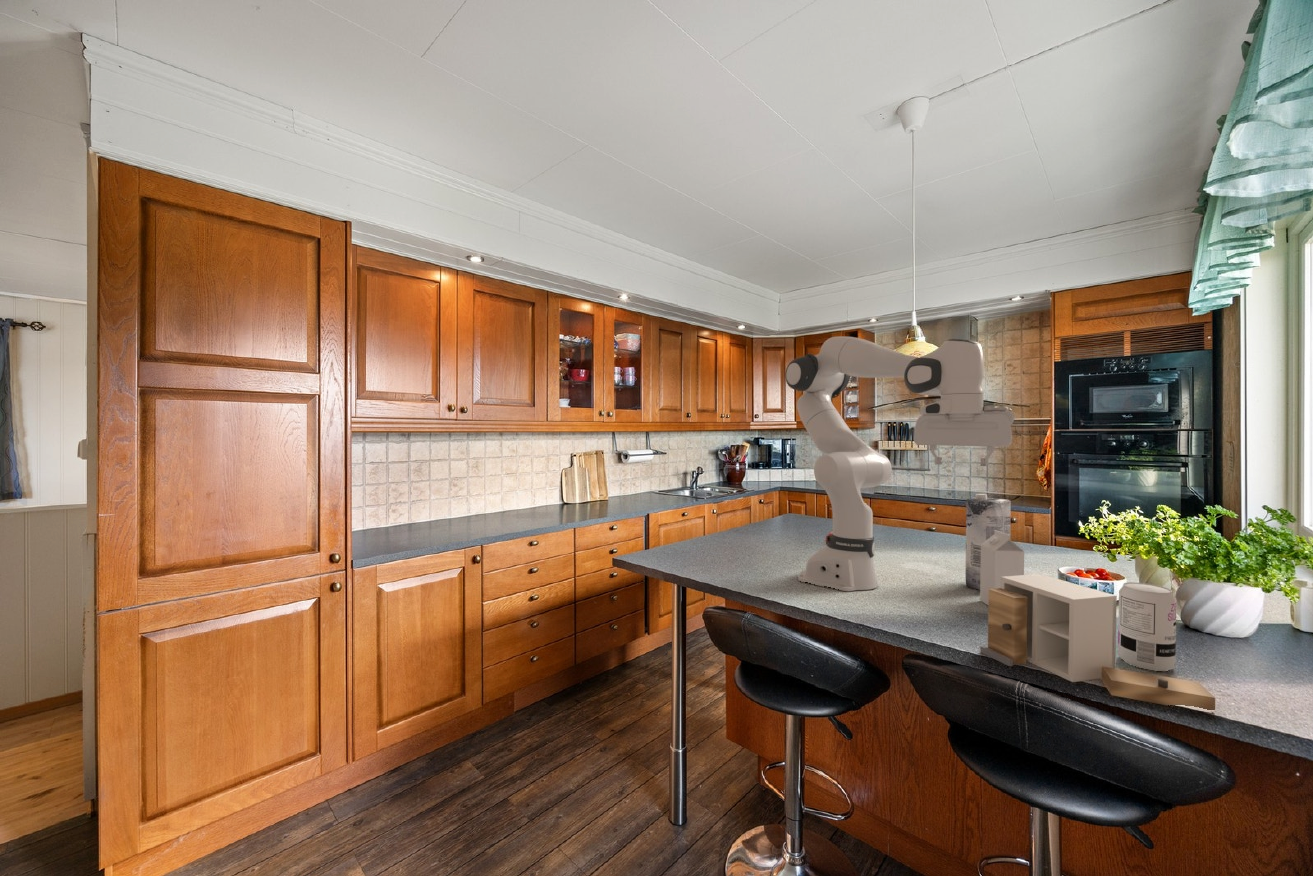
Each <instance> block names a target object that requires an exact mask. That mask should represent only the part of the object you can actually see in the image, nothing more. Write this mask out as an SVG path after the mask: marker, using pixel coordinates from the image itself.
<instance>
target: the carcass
mask: <svg viewBox="0 0 1313 876" xmlns="http://www.w3.org/2000/svg"><path fill="white" fill-rule="evenodd" d="M1001 588H1002V589H1005V590H1008V591H1011V592H1014V593H1017V594H1020V595H1023V596H1026V597H1027V651H1026V662H1028V663H1031V664H1033V665H1035V666H1037V667H1038V668H1041V669H1044V670H1045V671H1047V672H1050V673H1051V674H1054V675H1056V676H1059V677H1060V678H1063V679H1065V680H1067V681H1069V682H1071V683H1077V682H1084V681H1085V682H1086V681H1091V680H1092V679H1093V680H1098V679H1099V678H1100V679H1102V667H1108V668H1115V669H1116V660H1117V659H1116V658H1117V657H1116V656H1117V655H1116V652H1117V651H1116V649H1117V645H1116V644H1117V600H1118V595H1116V594H1112V593H1110V592H1109V593H1108V592H1105V591H1102V590H1097V589H1094V588H1091V587H1087V586H1084V585H1080V584H1076V583H1073V582H1071V581H1066V580H1063V579H1060V578H1055V577H1052V576H1050V575H1049V576H1048V575H1045V574H1042V573H1032V574H1024V575H1018V576H1004V577H1001ZM979 652H980V653H981V654H984V655H985V656H988V657H990V658H991V659H994V660H995V661H998V662H1000V663H1001V664H1004V665H1005V666H1008V667H1014V665H1013V660H1012V659H1010V658H1008V657H1006V656H1004V655H1002V654H1000V653H998V652H995V651H993V650H991V649H989V648H988V646H984V645H980V651H979ZM1093 680H1092V681H1093Z"/></svg>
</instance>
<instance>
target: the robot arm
mask: <svg viewBox="0 0 1313 876" xmlns="http://www.w3.org/2000/svg"><path fill="white" fill-rule="evenodd" d="M981 345H982V344H980V343H979V342H978V341H976V340H973V339H961V338H951V339H946V340H945V341H944V342H942V344H941V345H940V346H939V347H938V348H936V349H935V350H932V351H931V352H929V353H926V354H924V355H922V356H920V357H918V356H912V355H910V354H909V355H908V354H905V353H902V352H899V351H896V350H895V349H891V348H889V347H885V346H884V345H881V344H878V343H875V342H872V341H870V340H867V339H864V338H860V337H854V336H846V335H845V336H843V335H842V336H841V335H840V336H832V337H830V338H827V340H825V341H824V342H823V344H822V345H821V348H820V350H819V353H817V354H816V355H815V354H813V353H807V354H805V355H803V356H800V357H797V358H794V359H792V360H790V362H789V363H788V365H787V367H786V369H785V375H784V377H785V382H786V384H787V386H788V387H789V388H790V389H793V390H795V391H798V392H803V394H801V396H800V397H798V399H797V401H796V409H797V412H798V415H799V416H798V417H799V419H800V421H801V423H802V424H803V426H804V428H805V429H806V432H807V433H808V434H809V436H810V438H811V440H812V442H813V443H814V445H815V446H816V448H817V449H818V450H819V451H820V452H822V453H824V454H823V455H820V456H819V457H818V458H817V460H816V461H815V463H814V465H813V475H814V478H815V480H816V482H817V484H818V485H819V486H821V488H823V489H824V491H825V492H826V494H827V497H828V499H829V501H830V504H831V510H832V531H831V532H829V533H828V534H826V536H825V541H824V542H825V546H824V547H822V548H821V549H819V550H818V551H816V552H815V553H813V554H812V555H811V556H810V557H809V558H808V559H807V562H806V565H805V569H804V570H802V571H800V572H799V573H798V575H797V581H799V582H800V581H801V583H805V582H808V583H807V584H809V583H811V585H814V584H815V585H816V586H820V587H824V586H827V587H826V588H828V587H831V588H830V589H833V588H835V589H834V590H838V589H839V590H838V591H843V592H852V591H866V590H867V591H868V590H872V589H876V588H878V587H879V584H878V580H877V576H876V570H875V563H874V556H875V548H876V547H875V544H876V543H875V537H874V536H873V533H874V532H873V529H874V527H873V525H874V523H873V522H874V519H873V518H874V517H873V516H874V513H873V510H872V508H871V506H869V505H868V504H867V503H865V501H864V500H863V497H862V491H861V489H870V488H875V487H879V486H881V485H883V484H885V483H887V482H888V481H889V480H890V478H891V475H892V472H893V471H892V470H893V469H892V464H891V461H890V459H889V458H888V457H887V456H886V455H885V454H883V453H881V452H879V451H876V450H875V449H874V448H871V446H869V445H868V444H867V443H865V441H863V440H862V439H861V438H860V437H858V436H857V434H855V433H854V432H853V431H852V429H851V428H850V427H849V426H848V424H847V423H846V421H845V420H844V419H843V417H842V415H841V414H840V413H839V411H838V410H837V408H836V407H835V406H834V404H833V402H832V399H835V398H837V397H839V396H840V394H841V392H843V391H844V390H845V388H846V387H847V386H848V384H849V383H850V379H851V377H855V378H862V379H863V378H864V379H865V378H867V379H872V378H876V379H877V378H899V379H901V378H902V379H903V380H904V384H905V386H906V388H907V389H908V390H909V392H911V393H914V394H915V395H921V396H923V395H924V396H940V400H937V401H932V402H929V403H928V404H924V405H922V406H920V408H919V412H920V414H921V415H920V416H919V417H918V418H917V420H916V422H915V426H914V433H913V441H914V444H916V445H917V446H929V451H930V453H931V454H932V456H933V458H934V465H943V457H942V456H939V455H938V454H937V452H936V450H938V446H952V447H953V446H955V447H956V446H957V447H958V446H959V447H960V446H961V447H962V446H963V447H986V448H985V449H986V452H988V453H987V454H986V455H985V456H984V457H980V465H979V466H981V467H988V466H989V459H990V457H991V456H992V454H993V453H994V451H995V450H994V449H995V448H994V447H1007V448H1008V447H1010V446H1011V445H1012V444H1013V434H1012V433H1013V432H1012V427H1011V426H1012V425H1013V424H1014V422H1015V412H1014V411H1013V410H1012V409H1011V408H1009V407H1007V406H1002V405H1001V406H984V390H983V384H982V383H983V379H984V375H985V366H984V365H985V364H984V363H985V362H984V361H985V360H984V353H983V352H984V351H983V348H982V346H981Z"/></svg>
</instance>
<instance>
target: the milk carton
mask: <svg viewBox="0 0 1313 876" xmlns="http://www.w3.org/2000/svg"><path fill="white" fill-rule="evenodd" d="M1018 575H1025V551H1024V550H1023V549H1022V548H1021V547H1020V546H1019V545H1017V544H1016V543H1015V542H1014V541H1013V540H1011V534H1010V535H1008V534H1005V533H1002V532H1000V531H997V530H995V534H994V535H993V536H991V537H990V538H989V539H988V540H986V541H985V542H984V543H982V544H981V569H980V590H979V598H980V599H979V601H981V602H982V603H984V604H985V605H987V606H988V605H989V589H996V588H1001V577H1004V576H1018Z"/></svg>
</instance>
